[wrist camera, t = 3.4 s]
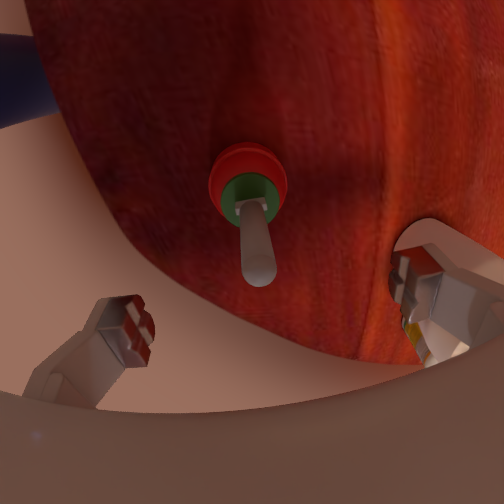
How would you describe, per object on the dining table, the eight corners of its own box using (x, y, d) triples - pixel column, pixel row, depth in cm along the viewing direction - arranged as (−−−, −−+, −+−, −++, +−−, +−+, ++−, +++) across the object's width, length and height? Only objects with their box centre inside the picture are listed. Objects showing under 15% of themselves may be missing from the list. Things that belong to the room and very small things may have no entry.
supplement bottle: (396, 333, 30) (428, 397, 21) (406, 298, 27) (448, 366, 19) (431, 323, 30) (465, 381, 21) (443, 290, 27) (487, 350, 19)
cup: (448, 189, 21) (542, 261, 10) (456, 261, 25) (520, 337, 15) (369, 232, 23) (445, 336, 12) (389, 301, 27) (440, 394, 17)
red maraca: (219, 214, 21) (206, 339, 11) (204, 149, 19) (163, 225, 8) (286, 202, 21) (334, 319, 11) (276, 136, 18) (332, 195, 8)
